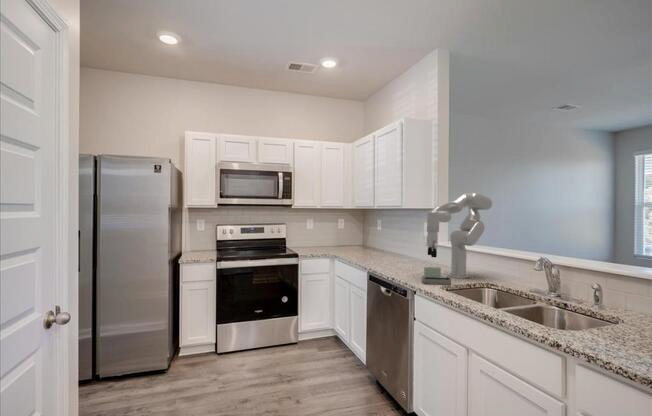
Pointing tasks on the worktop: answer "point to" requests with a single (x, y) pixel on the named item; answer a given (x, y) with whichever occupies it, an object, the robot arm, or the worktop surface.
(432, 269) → the door panel
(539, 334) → the worktop surface
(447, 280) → the door track
